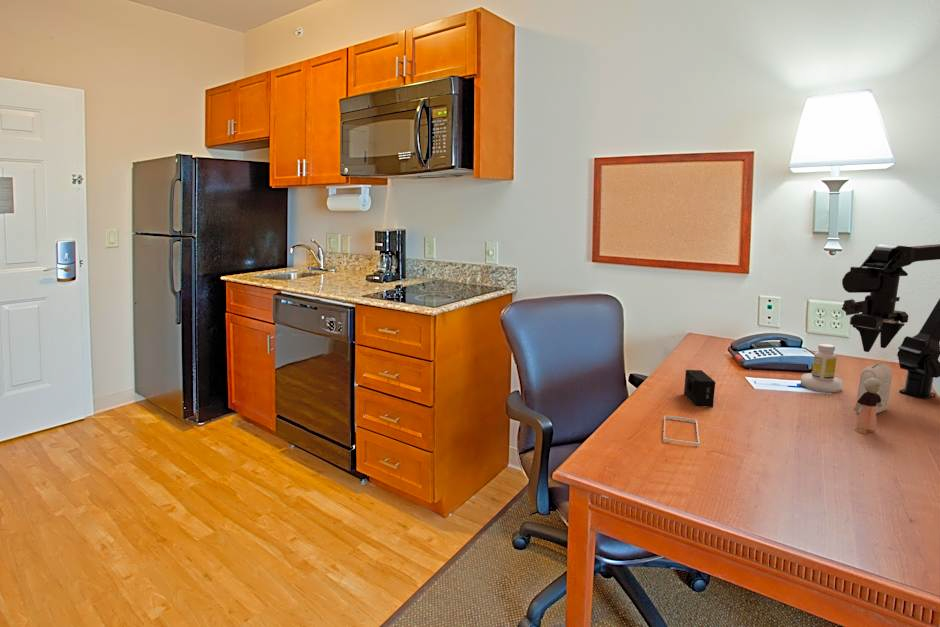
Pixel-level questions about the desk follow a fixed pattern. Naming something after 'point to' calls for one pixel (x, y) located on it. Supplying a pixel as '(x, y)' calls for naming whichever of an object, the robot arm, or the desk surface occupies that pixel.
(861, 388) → the photo printer
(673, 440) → the phone case
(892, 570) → the desk surface
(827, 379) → the supplement bottle
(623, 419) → the desk surface
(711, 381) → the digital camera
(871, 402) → the grandmother figurine
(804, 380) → the plinth
